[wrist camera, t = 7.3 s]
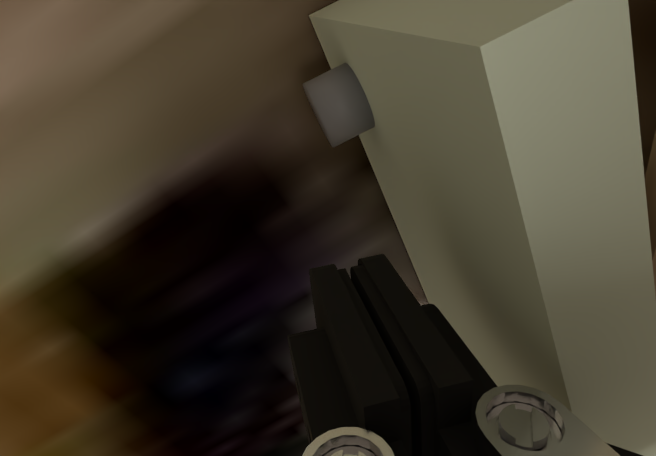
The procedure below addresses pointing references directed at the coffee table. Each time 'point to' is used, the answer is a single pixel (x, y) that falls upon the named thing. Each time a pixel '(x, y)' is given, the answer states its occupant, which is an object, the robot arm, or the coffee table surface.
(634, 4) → the oak cabinet
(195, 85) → the coffee table surface
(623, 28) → the sage door
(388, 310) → the robot arm
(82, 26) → the coffee table surface
